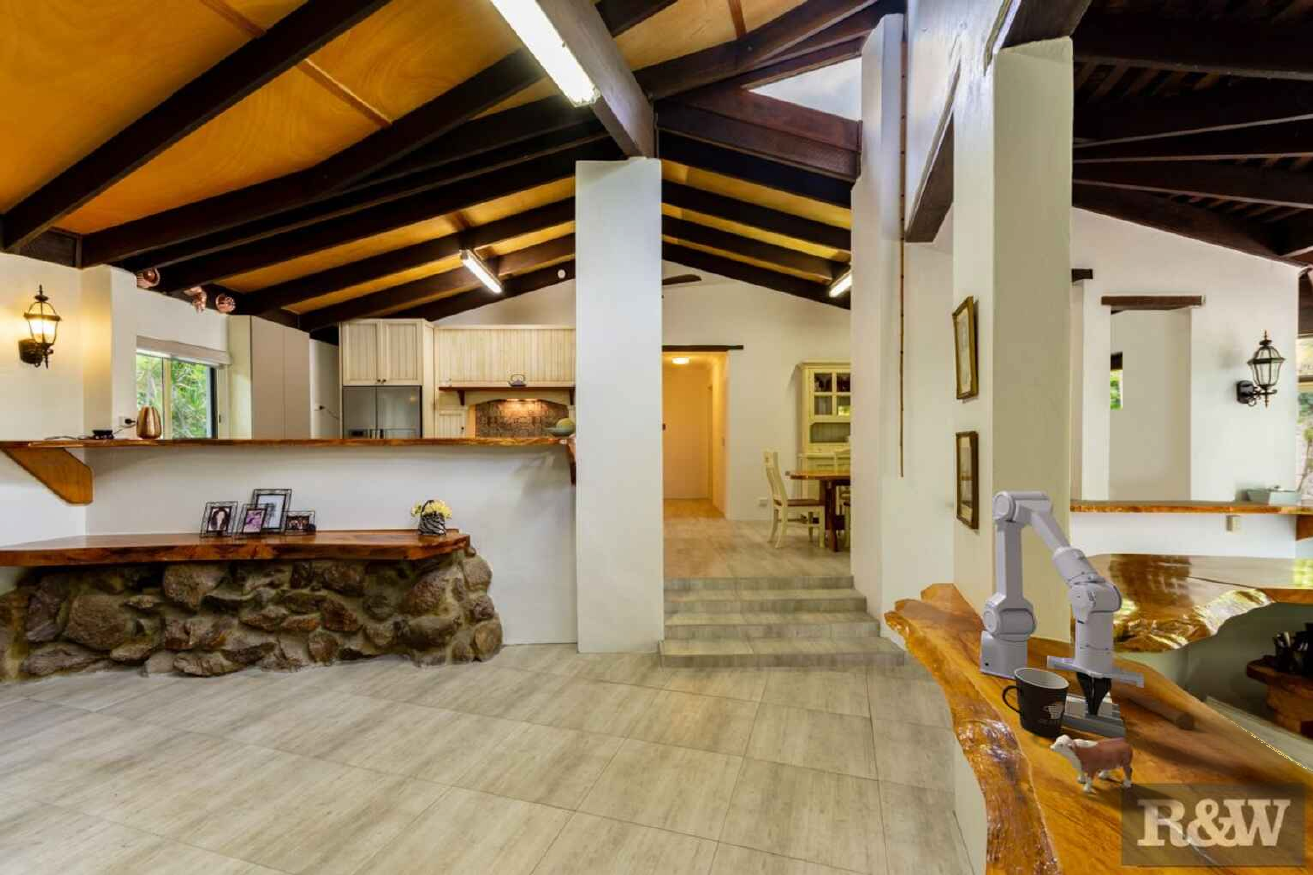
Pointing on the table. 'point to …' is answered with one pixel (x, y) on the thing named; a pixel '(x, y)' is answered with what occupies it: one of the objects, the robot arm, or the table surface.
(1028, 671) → the coffee mug
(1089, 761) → the bull figurine
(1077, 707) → the tab
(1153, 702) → the primitive tool
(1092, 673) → the robot arm
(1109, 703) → the tab
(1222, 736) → the table surface
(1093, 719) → the switch board
